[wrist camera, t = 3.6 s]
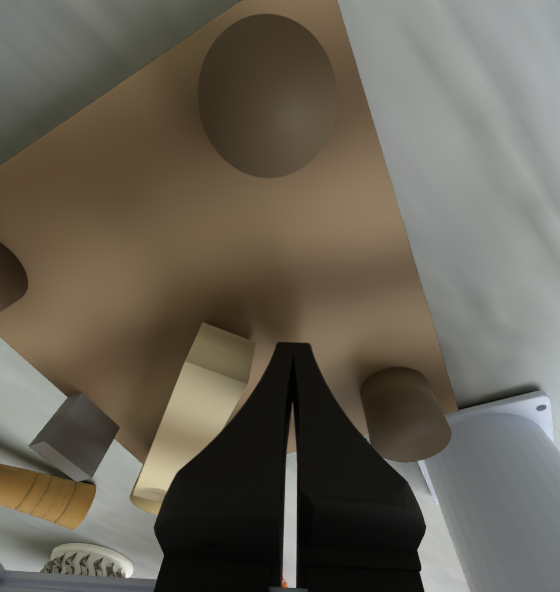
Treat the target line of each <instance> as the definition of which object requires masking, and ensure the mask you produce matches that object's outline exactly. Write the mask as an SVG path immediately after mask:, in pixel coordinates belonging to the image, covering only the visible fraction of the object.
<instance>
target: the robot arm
mask: <svg viewBox="0 0 560 592" xmlns="http://www.w3.org/2000/svg"><path fill="white" fill-rule="evenodd" d="M292 403H293V413H294V425H295V438H296V450H297V562H296V588H285V587H282V572H283V536H284V503H285V471H286V454H287V446H288V437H289V429H290V420H291V412H292ZM444 416H445V418H446V420H447V422H448V424H449V426H450V429H451V432H452V435H451V440H450V442H449V444H448V445H447V446H446V447H445V448H444V449H443V450H442V451H441V452H439V453H438V454H436V455H434V456H432V457H430V458H427V459H424V460H420V461H417V462H418V465H419V467H420V469H421V471H422V474H423V476H424V478H425V481H426V483H427V485H428V488H429V490H430V492H431V494H432V497H433V499H434V501H435V503H436V504H438V505H440V508H441V511H442V514H443V517H444V519H445V522H446V525H447V528H448V531H449V533H450V536H451V539H452V542H453V545H454V547H455V550H456V553H457V556H458V559H459V562H460V564H461V567H462V570H463V573H464V576H465V578H466V581H467V584H468V587H469V590H470V592H560V452H559V450H558V449H557V448H556V446H555V445H554V436H553V425H552V414H551V403H550V398H549V396H548V395H547V394H546V393H545V392H543V391H535V392H531V393H526V394H522V395H518V396H514V397H510V398H506V399H502V400H498V401H494V402H490V403H486V404H482V405H478V406H473V407H469V408H465V409H461V410H459V412H454V413H450V414H446V415H444ZM425 530H426V525H425V522H424V518H423V515H422V512H421V509H420V507H419V505H418V502H417V500H416V498H415V496H414V493H413V491H412V489H411V487H410V486H409V484H408V482H407V481H406V480H405V479H404V478H403V477H402V476H401V475H400V474H399V473H398V472H396V471H395V470H394V469H393V468H392V467H391V466H390V465H389V464H388V463H387V462H386V461H385V460H384V459H383V458H382V457H381V456H380V455H379V454H378V452H377V451H376V450H375V449H374V448H373V447H372V446H371V445H370V444H369V442H368V441H367V440H366V439H365V438H364V437H363V435H362V434H361V433H360V432H359V431H358V430H357V428H356V427H355V426H354V425H353V423H352V422H351V421H350V419H349V418H348V417H347V415H346V414H345V412H344V411H343V409H342V408H341V406H340V405H339V403H338V402H337V400H336V399H335V397H334V395H333V394H332V392H331V390H330V389H329V387H328V385H327V383H326V381H325V379H324V377H323V375H322V373H321V371H320V369H319V367H318V364H317V362H316V360H315V357H314V354H313V351H312V347H311V344H309V343H301V342H278V343H277V344H276V346H275V350H274V353H273V355H272V357H271V360H270V362H269V364H268V366H267V368H266V370H265V372H264V373H263V375H262V377H261V379H260V381H259V382H258V384H257V385H256V387H255V389H254V390H253V392H252V393H251V395H250V396H249V398H248V399H247V401H246V402H245V403H244V405H243V406H242V407H241V409H240V410H239V411H238V412H237V414H236V415H235V416H234V417H233V418H232V420H231V421H230V422H229V423H228V424H227V425H226V427H225V428H224V429H223V430H222V431H221V432H220V433H219V434H218V435H217V436H216V437H215V438H214V439H213V440H212V441H211V442H210V443H209V444H208V445H207V446H206V447H205V448H204V449H203V450H202V451H201V452H200V453H198V454H197V455H196V456H195V457H194V458H193V459H191V460H190V461H189V462H188V463H187V464H186V465H184V466H183V467H182V468H181V469H180V470H179V471H178V472H177V473H176V475H175V477H174V479H173V481H172V482H171V484H170V486H169V488H168V490H167V493H166V495H165V497H164V499H163V502H162V504H161V507H160V510H159V513H158V516H157V519H156V522H155V525H154V531H155V535H156V537H157V540H158V542H159V544H160V546H161V549H162V551H163V553H164V558H163V561H162V565H161V568H160V571H159V575H158V578H157V580H154V579H138V578H122V577H105V576H89V575H73V574H57V573H40V572H24V571H8V570H5V568H4V567H3V565H2V564H1V563H0V592H424V588H423V584H422V580H421V576H420V573H419V571H421V563H420V560H419V556H418V552H417V549H418V547H419V545H420V543H421V541H422V539H423V536H424V534H425Z"/></svg>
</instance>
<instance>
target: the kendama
mask: <svg viewBox="0 0 560 592" xmlns="http://www.w3.org/2000/svg"><path fill="white" fill-rule="evenodd" d="M95 493H96V486H95V485H93V484H88V483H83V482H74V481H73V480H69V479H62V478H60V477H56V476H50V475H47V474H43V473H36V472H35V471H31V470H27V469H22V468H18V467H13V466H8V465H3V464H0V505H2V506H4V507H7V508H11V509H14V508H15V510H17V511H20V512H23V513H29V514H30V515H32V516H35V517H39V518H41V519H44V520H47V521H50V522H52V521H53V522H54V523H55V524H58V525H60V526H63V527H66V528H68V529H72V530H73V529H75V528H76V527H77V526H78V525H79V524H80V523H81V522H82V521H83V519H84V517H85V516H86V514H87V512H88V510H89V509H90V507H91V504H92V502H93V499H94V497H95Z"/></svg>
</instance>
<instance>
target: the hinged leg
mask: <svg viewBox="0 0 560 592" xmlns="http://www.w3.org/2000/svg"><path fill="white" fill-rule="evenodd" d="M255 344H256V342H253V341H251V340H248V339H245V338H243V337H240V336H238V335H235V334H232V333H230V332H227V331H225V330H222V329H219V328H217V327H214V326H212V325H209V324H206V323H204V322H203V323H202V325H201V327H200V329H199V331H198V334H197V336H196V338H195V340H194V343H193V345H192V347H191V349H190V351H189V354H188V356H187V358H186V360H185V363H184V365H183V368H182V370H181V373H180V375H179V378H178V380H177V383H176V385H175V388H174V390H173V393H172V396H171V398H170V401H169V403H168V406H167V408H166V411H165V413H164V416H163V418H162V421H161V424H160V426H159V429H158V431H157V434H156V436H155V439H154V441H153V444H152V446H151V449H150V451H149V453H148V455H147V458H146V460H145V462H144V465H143V467H142V469H141V471H140V474H139V476H138V478H137V481H136V483H135V485H134V487H133V490H132V492H131V494H130V500H131V502H132V503H133V504H134V505H135V506H136V507H138V508H139V509H141V510H143V511H146V512H149V513H153V514H158V513H159V510H160V507H161V504H162V502H163V499H164V497H165V495H166V493H167V490H168V488H169V486H170V484H171V482H172V481H173V479H174V477H175V475H176V473H177V472H178V471H179V470H180V469H181V468H182V467H183V466H184V465H186V464H187V463H188V462H189V461H190V460H191V459H193V458H194V457H195V456H196V455H197V454H198V453H200V452H201V451H202V450H203V449H204V448H205V447H206V446H207V445H208V444H209V443H210V442H211V441H212V440H213V439H214V438H215V437H216V436H217V435H218V434H219V433H220V432H221V431H222V429H223V427H224V426H225V424H226V422H227V420H228V419H229V417H230V415H231V413H232V411H233V410H234V408H235V406H236V404H237V403H238V401H239V399H240V397H241V395H242V394H243V392H244V390H245V388H246V387H247V385H248V381H249V376H250V370H251V365H252V360H253V354H254V349H255Z"/></svg>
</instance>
